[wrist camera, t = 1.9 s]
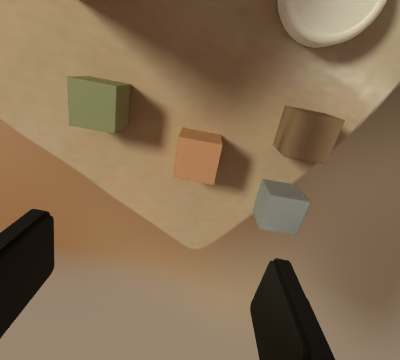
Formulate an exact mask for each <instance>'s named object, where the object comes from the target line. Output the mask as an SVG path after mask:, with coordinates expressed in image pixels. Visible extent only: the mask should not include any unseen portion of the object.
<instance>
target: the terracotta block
mask: <svg viewBox="0 0 400 360" xmlns="http://www.w3.org/2000/svg"><path fill="white" fill-rule="evenodd" d="M222 146H223V144H222V139H221V135H219V134H214V133H208V132H203V131H198V130H193V129H187V128H182V130H181V132H180V134H179V136H178V142H177V149H176V156H175V163H174V170H173V176H172V178H178V179H183V180H189V181H195V182H200V183H206V184H211V185H214V181H215V177H216V172H217V168H218V164H219V159H220V155H221V150H222Z"/></svg>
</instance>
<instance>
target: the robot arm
mask: <svg viewBox="0 0 400 360" xmlns="http://www.w3.org/2000/svg"><path fill="white" fill-rule="evenodd" d="M53 225H54V221H53V217H52V216H50V213H49V212H47V211H42V210H37V209H32V210H30V211H29V212H27V213H26V214H25V215H23V216H22V217H21V218H19V219H18V220H17V221H15V222H14V223H13V224H11V225H10V226H9V227H8V228H6V229H5V230H4V231H2V232H1V233H0V338H1V336H3V334H4V333H5V331H6V330H7V329H8V328H9V327H10V325H11V324H12V323H13V322H14V320H15V319H16V318H17V317H18V315H19V314H20V313H21V311H22V310H23V309H24V308H25V306H26V305H27V304H28V302H29V301H30V300H31V299H32V297H33V296H34V295H35V294H36V292H37V291H38V290H39V288H40V287H41V286H42V285H43V283H44V282H45V281H46V280H47V278H48V277H49V276H50V274H51V273H52V271H53V269H54V226H53ZM250 311H251V316H252V322H253V327H254V332H255V338H256V343H257V348H258V354H259V359H260V360H335V358H334V356H333V354H332V352H331V349H330V347H329V345H328V343H327V341H326V338H325V336H324V334H323V332H322V330H321V328H320V325H319V323H318V321H317V319H316V316H315V314H314V312H313V310H312V308H311V306H310V303H309V301H308V299H307V298H306V296H305V294H304V292H303V290H302V287H301V285H300V283H299V281H298V278H297V276H296V274H295V272H294V270H293V267H292V265H291V263H290V262H289V261H286V260H282V259H277V258H276V259H274V261H270V262H269V264H268V266H267V269H266V271H265V273H264V275H263V278H262V280H261V282H260V285H259V287H258V289H257V291H256V293H255V296H254V298H253V300H252V302H251V308H250Z"/></svg>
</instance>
